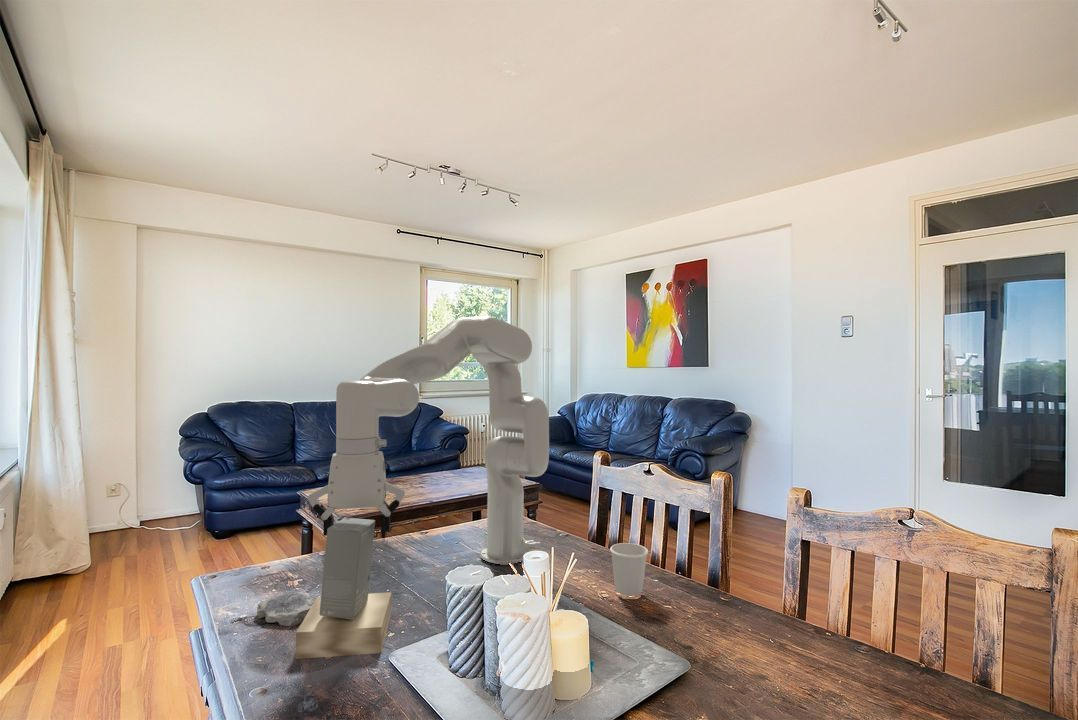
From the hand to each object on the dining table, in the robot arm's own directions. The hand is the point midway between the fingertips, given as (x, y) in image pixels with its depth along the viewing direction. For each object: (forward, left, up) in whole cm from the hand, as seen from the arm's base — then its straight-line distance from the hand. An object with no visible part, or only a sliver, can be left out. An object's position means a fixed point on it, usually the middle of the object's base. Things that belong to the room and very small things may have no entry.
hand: (357, 537), depth 98 cm
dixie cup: (-57, -7, -18) cm, 60 cm away
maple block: (+1, +1, -18) cm, 18 cm away
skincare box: (+2, +1, -13) cm, 13 cm away
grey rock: (+14, -10, -18) cm, 25 cm away
